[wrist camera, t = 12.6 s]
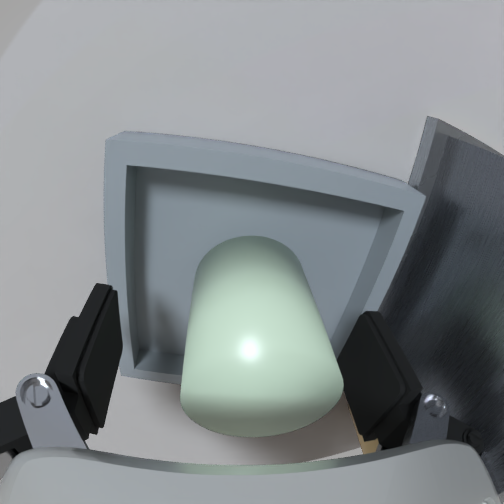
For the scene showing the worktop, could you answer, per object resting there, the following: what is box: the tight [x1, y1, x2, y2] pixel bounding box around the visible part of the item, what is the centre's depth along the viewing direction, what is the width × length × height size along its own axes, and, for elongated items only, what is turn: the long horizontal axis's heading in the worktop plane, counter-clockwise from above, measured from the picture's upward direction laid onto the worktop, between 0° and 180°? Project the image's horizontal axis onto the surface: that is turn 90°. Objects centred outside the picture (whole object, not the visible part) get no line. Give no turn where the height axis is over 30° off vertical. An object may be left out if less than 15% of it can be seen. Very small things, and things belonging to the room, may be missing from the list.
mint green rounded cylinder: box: [180, 236, 344, 437], centre depth 11 cm, size 5×5×6 cm
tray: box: [104, 131, 426, 384], centre depth 13 cm, size 12×12×2 cm
